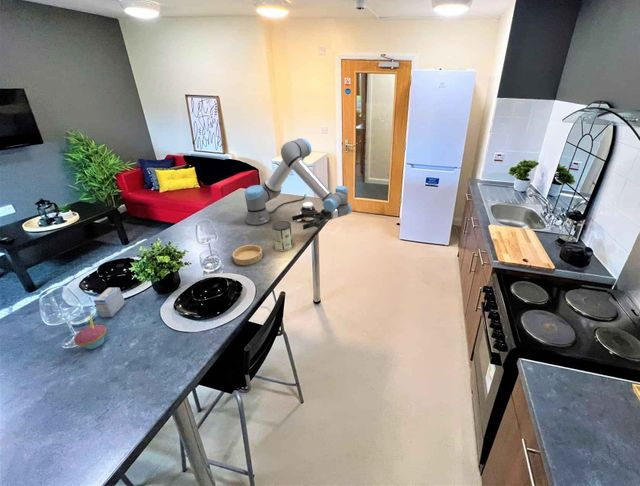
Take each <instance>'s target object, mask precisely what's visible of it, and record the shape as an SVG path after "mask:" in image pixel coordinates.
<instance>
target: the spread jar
mask: <svg viewBox="0 0 640 486" xmlns="http://www.w3.org/2000/svg"><path fill="white" fill-rule="evenodd" d="M307 211H316V208H315V206H314V203H313V202H311V201H305V202H303V203H302V207H301V208H300V210H299V211H297V212H296V215H300V214H301V212H307ZM314 217H315V215H314ZM296 221H297V222H301V221H304V222H307V223H311V222H314V221H315V219H314V218H304V217H303V219H299V220H296Z"/></svg>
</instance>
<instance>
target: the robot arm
mask: <svg viewBox="0 0 640 486" xmlns="http://www.w3.org/2000/svg"><path fill="white" fill-rule="evenodd" d="M280 148H281V149H280V155H281V156H280V157H281V158H282V160H281V161H280V163H279V165H277V167H276V169H275V171H274V172H273V173H272V175H271V176H270V177H268V178H266V179H265V180H264V182H263V183H262V184H261V185H260V184H255V185H250V186H248V187H247V188H246V189H245V190H244V198H245V204H246V209H247V212H246V217H245V222H246V224H247V225H250V226H260V225H261V226H262V225H265V224H267V223H269V222H270V221H271V216H270V214H273V213H275V212H276V211H277V210H278V209H279V208H281V206H283V205H286V204H290V203H295V202H299V201H303V200H305V198H306V196H307V194H304V197H305V198H304V197H303V198H300V199H296V200H292V201H287V202H284V203H281V204H279V205H278V206H277V207H275V209H274V210H273V211H269V212H268V210H267V205H266V203H268V202H269V201H271V200H273V199H276V198H278V197H279V196H280V194H281V193H282V185H283V184H284V182H285V181H286V179H287V178H288V177H289V176H290V174H291V173H292V172H293V171H294V172H295V173H296V174H297V176H298V177H300V179H301V180H302V181H303V182H304V183H305V184H306V186H307V187H309V188H310V190H311V191H312V192H313V193H314V194H315V195H316V197H318V198H319V199H320V200H321V201H322V206H323V209H321V211H320V212H319V211H318V210H316V209H315V210H316V211H307V212H301V211H300V212H301V214H300V215H297V214H295V215H292V216H291V219H292V222H295V221H297V220H299V219H302V220H303V217H304V218H314V221H310V222H307V223H304V224H302V229H303V230H307V229H311V228H314V227H315V228H318V229H319V228H320V227H322V226H323V225H324V224H326V223H328V222H329V221H332V220H334V219H337V218H340V217H341V218H342V217H344V216H347V215H349V214H351V213H352V211H353V208H352V205H351V204H350V203H349V201H348V200H349V196H348V195H349V190H348V187H347V186H345V185H338V186H336V187H335V193H333V192H332V191H331V190H330V189H329V188H328V187H327V186H326V185H325V183H324V182H323V181H322V180H321V179H320V177H318V176H317V175H316V174H315V172H313V171H312V169H311V168H310V167H309V166H308V165H307V164H306V163H305V162H304V160H305V158H307V157H309V156H310V155H311V154H312V146H311V143H310V142H309V141H308V140H307V139H306V138H297V139H294V140H290V141H287V142H285V143H284V144H282V147H280ZM314 215H315V217H314Z"/></svg>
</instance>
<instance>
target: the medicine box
mask: <svg viewBox="0 0 640 486" xmlns="http://www.w3.org/2000/svg"><path fill="white" fill-rule="evenodd" d="M93 302H94V305H95V308H96V310H97V311H98V313H99V316H100V318H113V317H114V316H115V315H116V314H117V313H118V311H120V310H121V309H122V307H124V306H125V305H126V300H125V298H124V297H123V293H122V291H121V288H120V287H107V288H106V289H105V290H104V291H103V292H102V293H101V294H99V295H98V296H97V297H96V298H95V299H94V300H93Z"/></svg>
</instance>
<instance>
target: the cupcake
mask: <svg viewBox="0 0 640 486" xmlns="http://www.w3.org/2000/svg"><path fill="white" fill-rule="evenodd" d="M88 319H89V323H90V324H89V325H88V326H86V327H84V328H83V329H81V330H79V332H77V333H76V335H75V336H74V338H73V343H74V345H76V346H79V347H84V348H86V349H87V350H94V349H97V348H99V347H101V346H102V345H103V344H104V342H105V336H106V335H107V332H108V329H107V325H105V324H102V323H97V324H96V323H95V324H94V321H93V316H92V315H91V314H90V315H89V318H88Z"/></svg>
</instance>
